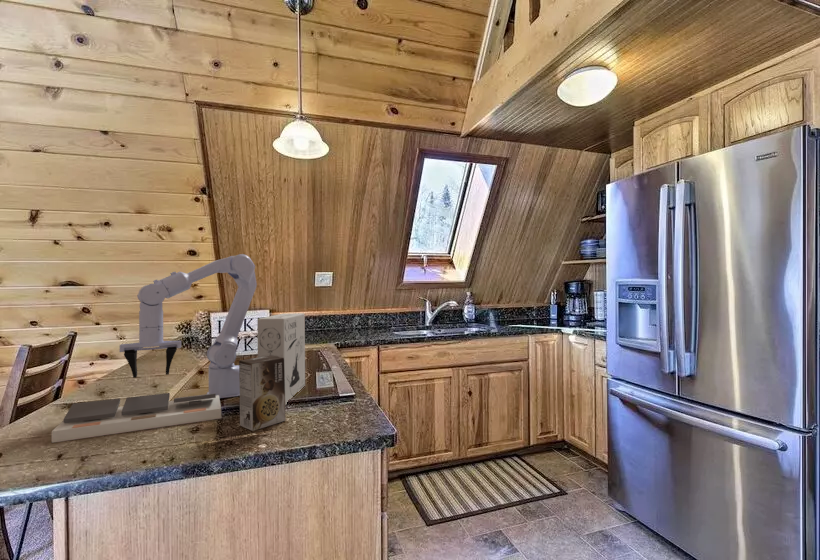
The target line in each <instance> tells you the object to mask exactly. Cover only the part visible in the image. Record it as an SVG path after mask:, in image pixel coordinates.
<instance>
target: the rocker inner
mask: <svg viewBox="0 0 820 560" xmlns="http://www.w3.org/2000/svg"><path fill="white" fill-rule="evenodd" d="M209 398H216V394H215V393H214V394H207V393H206V394H199V395H190V396H182V397H181V396H180V397H175V398H173V401H174V403H177V402H185V401H193V400H201V399H209Z"/></svg>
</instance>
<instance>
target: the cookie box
mask: <svg viewBox="0 0 820 560" xmlns="http://www.w3.org/2000/svg"><path fill="white" fill-rule="evenodd" d="M238 361H239V362H238V363H239V364H238V365H239V380H240V396H239V426H240V427H243V428H245V429H247V430H250V431H252V432H254V431H257V430H260V429H264V428H266V427H270V426H273V425H277V424H279V423H283V422H285V421H286V418H287V417H286V405H285V371H284V358H282V357H278V356H274V355H269V356H263V357H258V356H257V357H252V358H247V359H240V360H238Z"/></svg>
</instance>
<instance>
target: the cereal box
mask: <svg viewBox="0 0 820 560" xmlns="http://www.w3.org/2000/svg"><path fill="white" fill-rule="evenodd" d="M305 314H306V313H304V312H303V313H296V312H295V313H279V314H274V315H270V316H267V317H266V316H265V317H260V318H258V319H257V357H263V356H269V355H274V356H278V357H282V358H284V371H285V406H286V405H288V404H287V402H288V400H289V399H291V398H292V397H293V396H294V395H295V394H296V393H297V392H299V391H300V390H301V389H302V388H303V387H304V386H305V387H306V347H305V346H306V331H305V330H306V329H305V328H306V326H305V325H306V324H305V323H306V322H305V320H306V319H305V318H306V317H305ZM305 387H304V388H305ZM304 388H303V389H304ZM303 389H302V390H303ZM302 390H301V391H302ZM301 391H300V392H301ZM300 392H299V393H300Z"/></svg>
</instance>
